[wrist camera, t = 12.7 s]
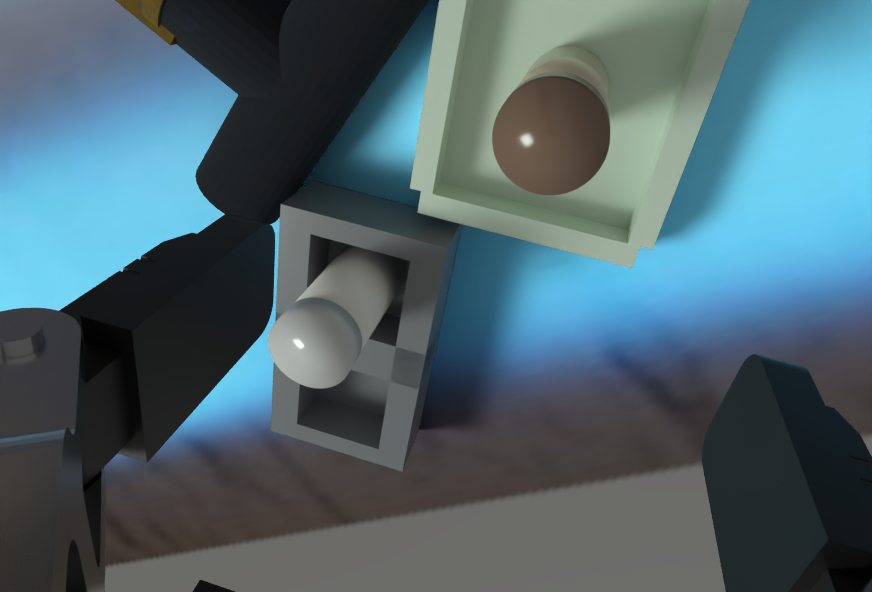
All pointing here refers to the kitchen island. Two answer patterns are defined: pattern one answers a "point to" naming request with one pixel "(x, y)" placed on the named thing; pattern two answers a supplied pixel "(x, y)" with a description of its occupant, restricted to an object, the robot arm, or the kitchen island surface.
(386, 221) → the fuse block
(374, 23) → the pipe connector
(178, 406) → the robot arm
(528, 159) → the cylinder
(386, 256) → the cylinder
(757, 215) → the kitchen island surface
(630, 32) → the parts tray
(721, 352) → the kitchen island surface
